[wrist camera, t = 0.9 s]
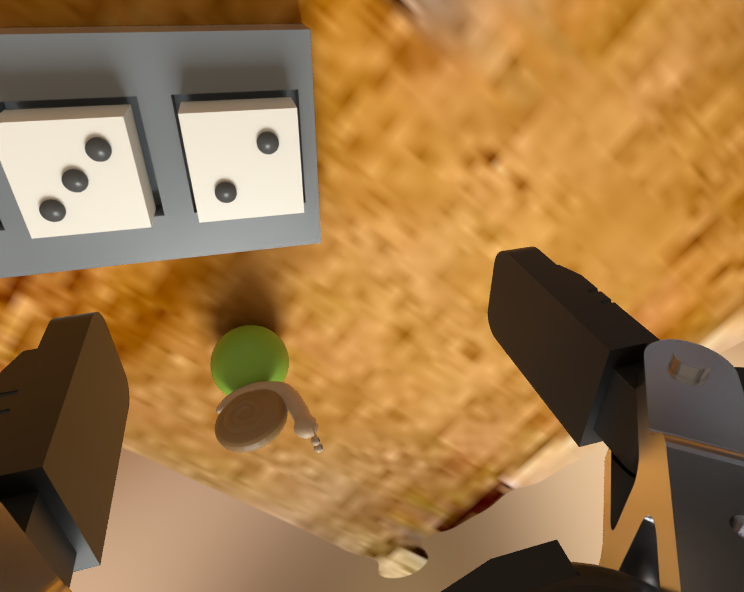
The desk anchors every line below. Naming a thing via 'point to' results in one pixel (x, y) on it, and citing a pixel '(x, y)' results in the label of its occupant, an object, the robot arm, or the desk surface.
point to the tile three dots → (76, 169)
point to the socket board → (157, 129)
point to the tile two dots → (243, 157)
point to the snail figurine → (256, 391)
